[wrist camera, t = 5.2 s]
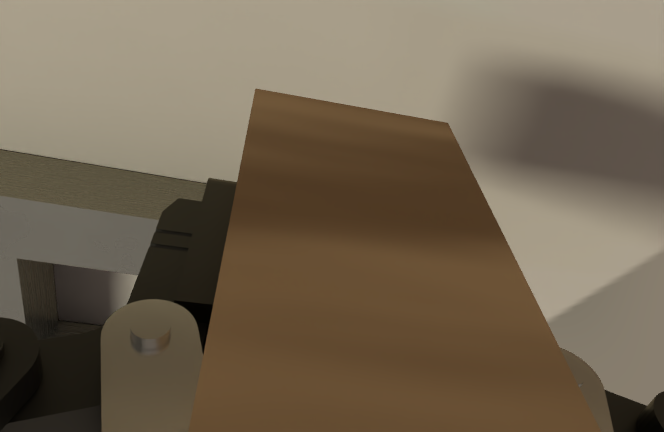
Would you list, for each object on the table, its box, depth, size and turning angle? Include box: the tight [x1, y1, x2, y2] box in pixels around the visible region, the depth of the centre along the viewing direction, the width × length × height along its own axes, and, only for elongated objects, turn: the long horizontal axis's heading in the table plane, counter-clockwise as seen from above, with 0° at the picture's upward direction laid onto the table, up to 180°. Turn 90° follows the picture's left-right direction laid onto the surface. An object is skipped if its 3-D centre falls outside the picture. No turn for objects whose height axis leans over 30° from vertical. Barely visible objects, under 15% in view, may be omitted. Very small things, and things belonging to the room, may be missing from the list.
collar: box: [0, 150, 207, 340], centre depth 24 cm, size 12×12×3 cm
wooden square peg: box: [188, 89, 601, 432], centre depth 9 cm, size 4×4×10 cm
